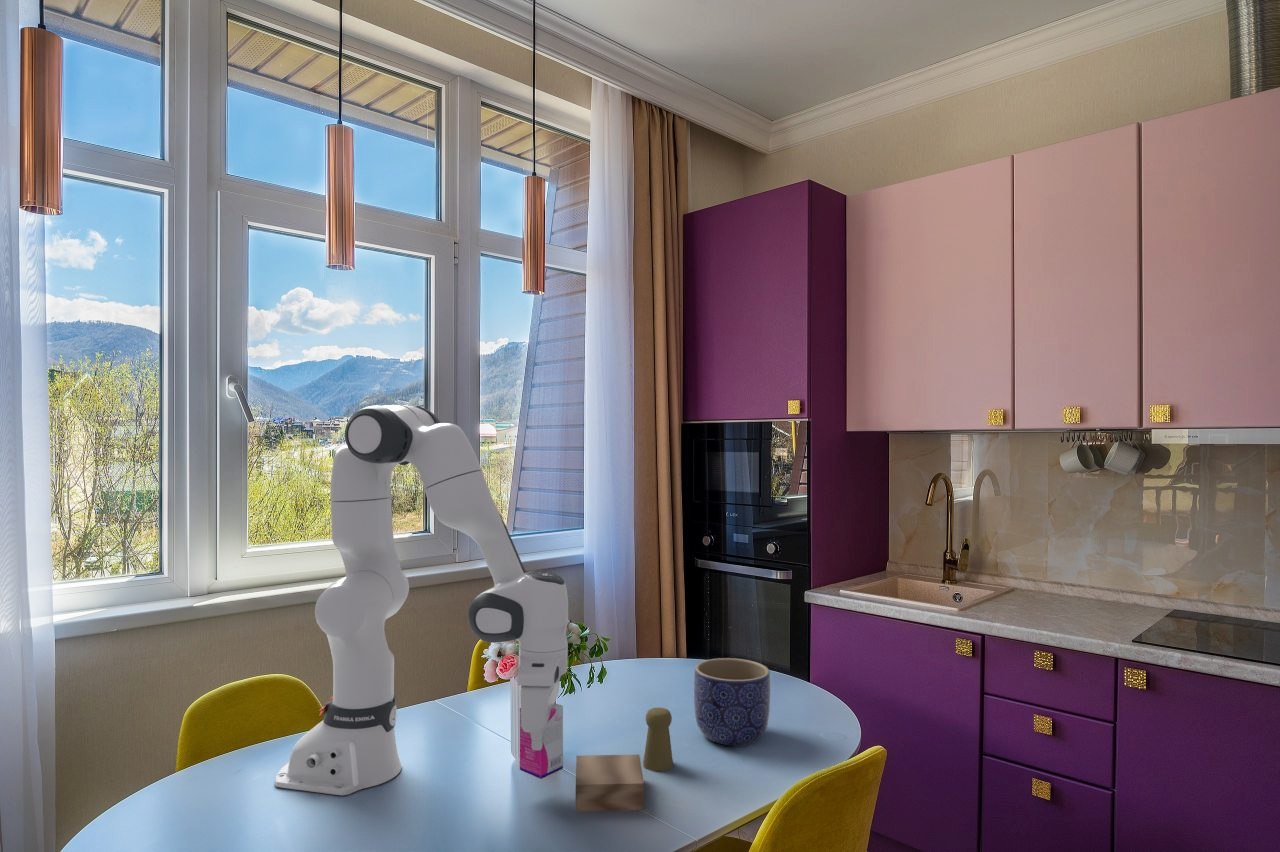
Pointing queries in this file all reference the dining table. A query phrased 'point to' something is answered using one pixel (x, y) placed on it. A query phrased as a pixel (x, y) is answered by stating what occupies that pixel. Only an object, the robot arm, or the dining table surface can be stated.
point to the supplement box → (544, 747)
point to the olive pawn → (658, 740)
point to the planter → (732, 700)
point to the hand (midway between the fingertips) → (541, 738)
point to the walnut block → (609, 783)
